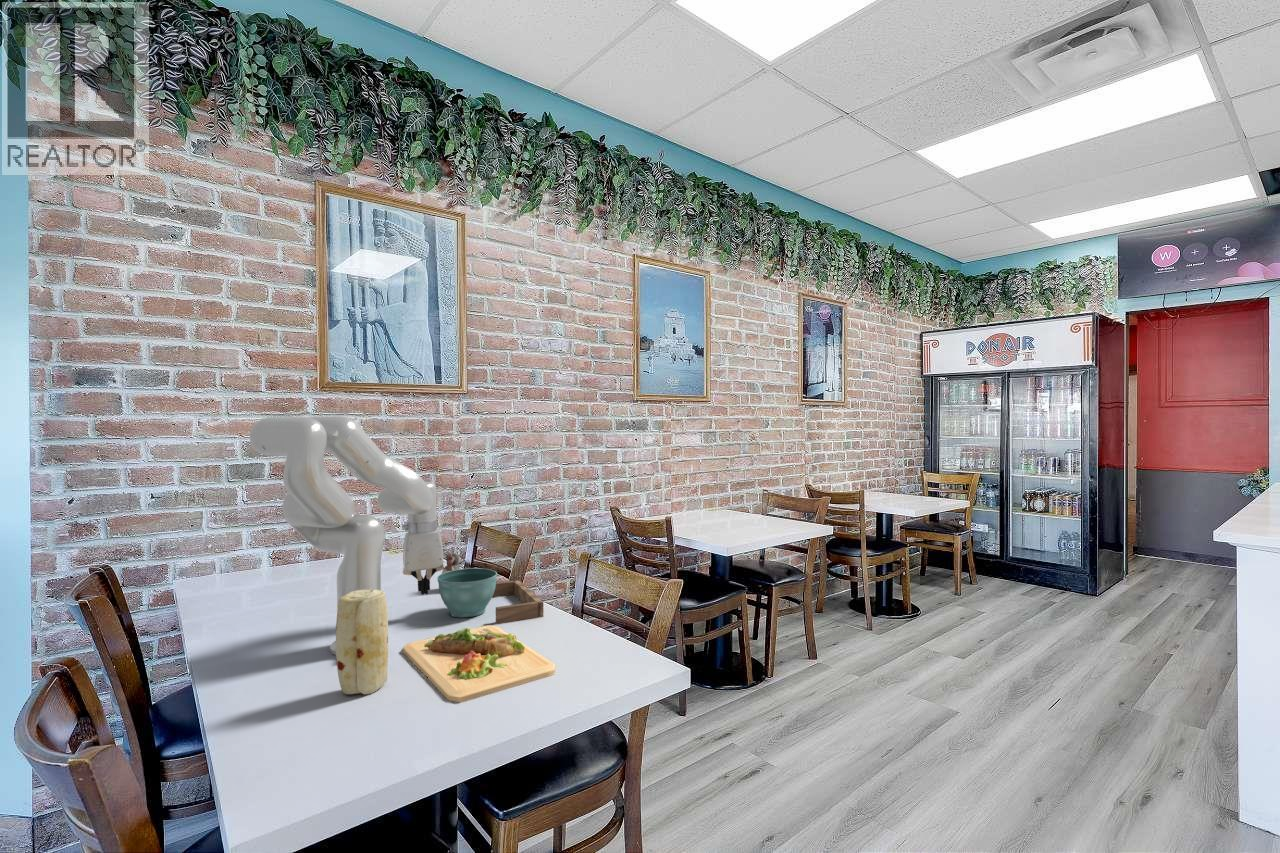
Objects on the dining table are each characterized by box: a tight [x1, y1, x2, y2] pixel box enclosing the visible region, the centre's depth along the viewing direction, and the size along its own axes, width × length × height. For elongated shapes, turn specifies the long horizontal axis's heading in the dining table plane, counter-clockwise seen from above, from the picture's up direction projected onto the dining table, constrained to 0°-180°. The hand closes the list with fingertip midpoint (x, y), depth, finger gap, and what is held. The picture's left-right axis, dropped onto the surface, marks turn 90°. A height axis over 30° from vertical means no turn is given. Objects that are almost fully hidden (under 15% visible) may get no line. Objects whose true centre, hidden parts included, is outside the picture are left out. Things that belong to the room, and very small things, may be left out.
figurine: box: [441, 552, 462, 574], centre depth 190 cm, size 7×7×12 cm
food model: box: [335, 590, 389, 695], centre depth 119 cm, size 10×7×20 cm
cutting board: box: [402, 624, 556, 704], centre depth 134 cm, size 35×23×8 cm
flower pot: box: [436, 567, 498, 618], centre depth 167 cm, size 16×16×11 cm
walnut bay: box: [491, 579, 544, 625], centre depth 172 cm, size 26×13×4 cm, turn 27°
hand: (424, 593), depth 163 cm, fingers closed
